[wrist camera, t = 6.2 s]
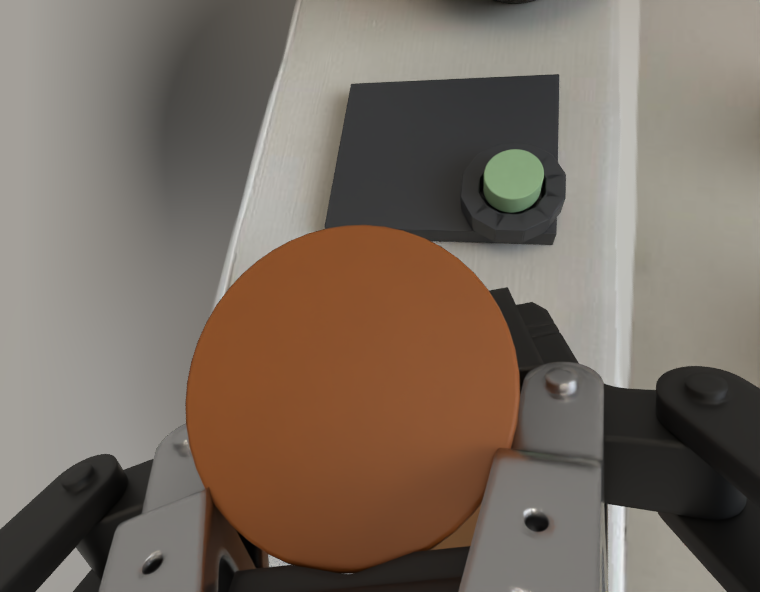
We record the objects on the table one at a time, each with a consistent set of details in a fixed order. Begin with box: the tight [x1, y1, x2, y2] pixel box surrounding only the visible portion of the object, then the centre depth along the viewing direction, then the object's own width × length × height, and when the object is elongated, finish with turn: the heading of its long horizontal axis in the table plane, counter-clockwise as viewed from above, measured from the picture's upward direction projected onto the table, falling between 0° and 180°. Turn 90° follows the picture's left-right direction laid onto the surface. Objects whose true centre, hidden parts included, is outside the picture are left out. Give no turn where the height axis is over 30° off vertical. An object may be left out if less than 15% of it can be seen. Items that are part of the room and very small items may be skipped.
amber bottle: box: [186, 225, 520, 574], centre depth 11 cm, size 5×5×10 cm
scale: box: [325, 74, 566, 245], centre depth 34 cm, size 16×14×4 cm
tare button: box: [484, 149, 544, 213], centre depth 29 cm, size 4×4×2 cm
